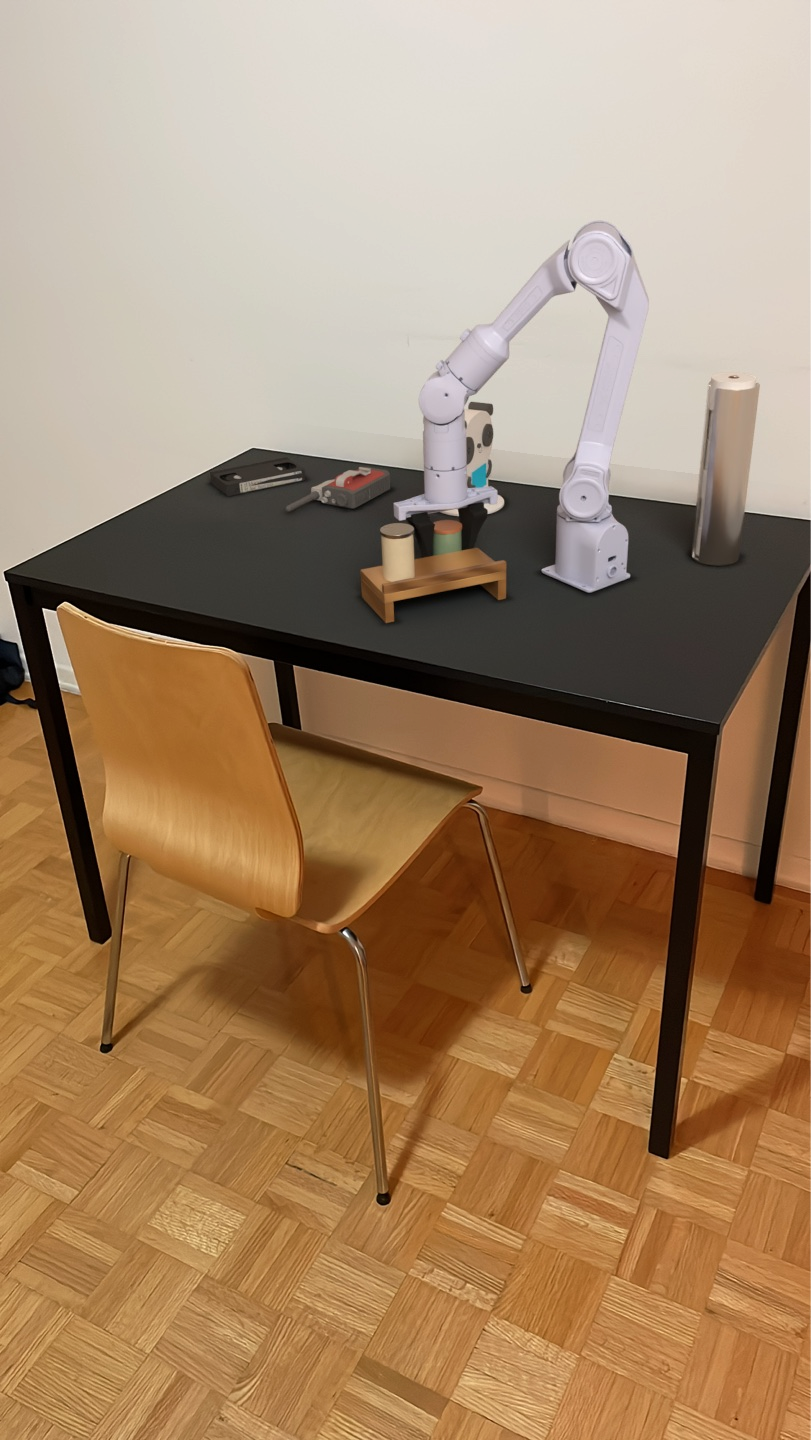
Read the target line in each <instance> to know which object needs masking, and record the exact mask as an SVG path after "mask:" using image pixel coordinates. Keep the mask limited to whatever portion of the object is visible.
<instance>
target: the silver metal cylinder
mask: <svg viewBox="0 0 811 1440" xmlns="http://www.w3.org/2000/svg"><path fill="white" fill-rule="evenodd" d="M760 388H761V384H760V383H759V382H757V377H756V376H755V375H753V374H750V373H746V372H740V371H739V372H738V371H727V372H726V371H725V372H724V371H723V372H718V373H714V374H712V375H711V377H710V380H709V382H708V383H707V390H706V401H705V411H704V421H703V429H702V431H703V432H702V441H701V451H700V460H699V461H700V462H699V472H698V480H697V481H698V484H697V492H696V503H695V513H694V523H693V532H692V533H693V534H692V544H691V551H690V553H691V554H690V556H691V558H692V559H693V560H694V561H695V562H696V563H699V564H702V565H706V566H711V567H712V566H713V567H724V566H730V565H733V564H735V563H737V562H738V561H739V559H740V554H741V553H740V552H741V546H742V545H741V543H742V537H743V530H744V529H743V527H744V520H745V513H746V512H745V511H746V503H747V502H746V501H747V496H748V495H747V494H748V487H749V480H750V479H749V478H750V472H751V471H750V470H751V463H752V453H753V445H754V438H755V428H756V422H757V421H756V420H757V411H758V404H759V397H760Z"/></svg>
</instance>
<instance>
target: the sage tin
mask: <svg viewBox="0 0 811 1440" xmlns="http://www.w3.org/2000/svg"><path fill="white" fill-rule="evenodd" d="M433 523H434V524H435V527H434V533H433V544H432V545H433V556H435V555H441V554H446V553H451V552H457V551H462V524H461V523H460V521H459V520H454V519H441V520H437V521H434V522H433Z"/></svg>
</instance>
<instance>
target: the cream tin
mask: <svg viewBox="0 0 811 1440" xmlns="http://www.w3.org/2000/svg"><path fill="white" fill-rule="evenodd" d="M379 534H380V539H381V562H382V565H383V578H384V579H385V580H386V581H389V582H393V581H398V580H404V579H409V578H414V577H415V566H414V559H415V541H414V538H415V537H414V527H413V526H411V525H409V523H404V522H394V523H389V524H385V525H383V526H382V527H380V529H379Z"/></svg>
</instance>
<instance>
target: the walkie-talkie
mask: <svg viewBox="0 0 811 1440" xmlns="http://www.w3.org/2000/svg"><path fill="white" fill-rule="evenodd" d="M390 490H391V474H390V472H389V471H388V470H387V469H382V468H376V467H371V466H359V467H358V469H356V470H353V469H348V470H346V471H344V472H342V473H341V474H339V475H337V476H336V477H335V478H334V479H329V480H328V479H327V480H325V481H323V482H321V483H320V484H317V485H315V486H312V487H311V488H310V492H309V494H307V495H305V496H304V497H301V498H300V499H298V500H296V501H294V502H291V503H289V504H288V505H286V506H285V511H286V512H287V513H290V512H292V511H294V510H296V509H298V508H300V507H303V506H304V505H306V504H308V503H310V502H312V501H321V503H322V504H325V505H328V506H334V507H340V508H345V509H350V510H353V509H357V508H358V507H360V506H362V505H363V504H365V503H367V502H369V501H371V500H373V499H375V498H377V497H378V496H380V495H382V494H384V493H385V492H387V491H390Z"/></svg>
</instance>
